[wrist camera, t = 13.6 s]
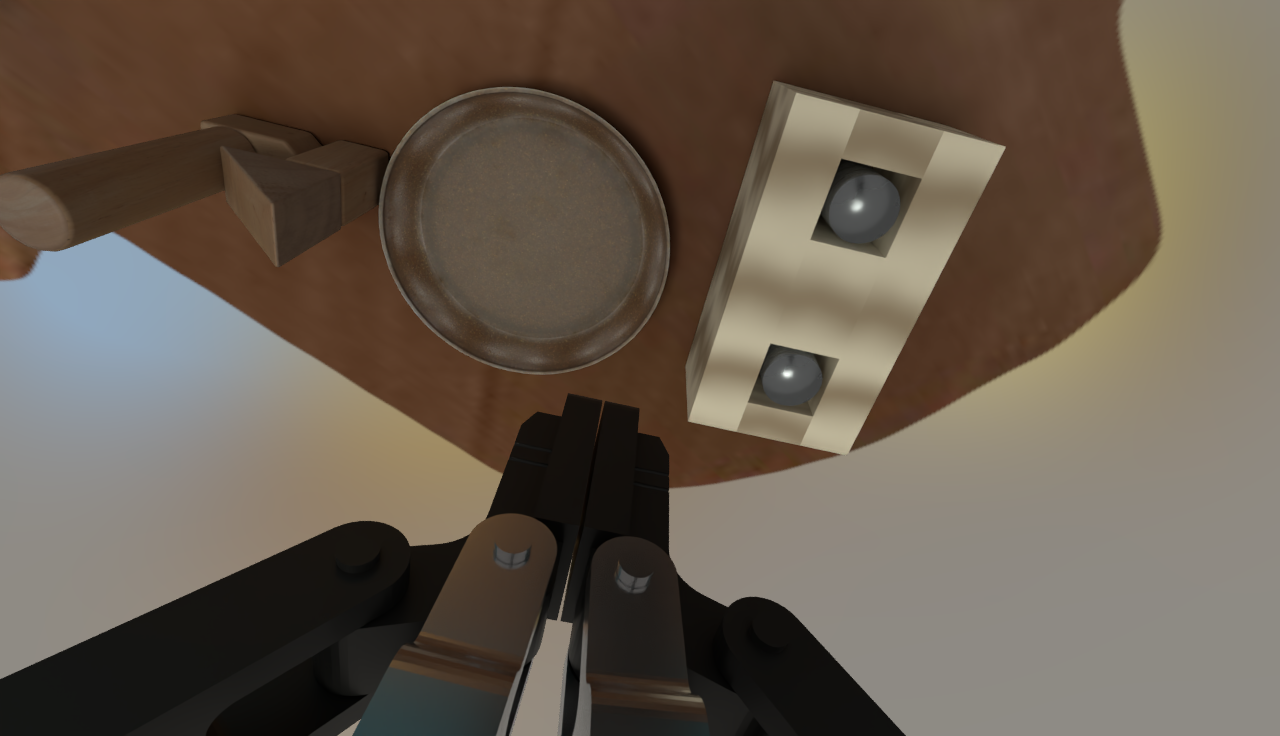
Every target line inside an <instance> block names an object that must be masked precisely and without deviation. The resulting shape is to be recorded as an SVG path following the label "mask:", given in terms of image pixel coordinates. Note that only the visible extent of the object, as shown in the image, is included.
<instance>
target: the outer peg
mask: <svg viewBox="0 0 1280 736" xmlns="http://www.w3.org/2000/svg"><path fill="white" fill-rule="evenodd" d="M759 373H760V377H761V381H762V385H763V389H764V391H765V393H766V395H767V396H768V397H769V398H770V399H771V400H772V401H774V402H775V403H778V404H780V405H785V406H794V405H799V404H802V403H805V402H807V401H809V400H810V399H812V398H813V397H814V396H815V395H816V394H817V392H818V391H819V389H820V387H821V385H822V372H821V370H820V367H819V365H818V363H817V360H816V358H815V356H814V353H811V352H806V351H802V350H797V349H793V348H789V347H784V346H780V345H775V344H771V343H770V346H769V348H768V351H767V353H766V356H765V359H764V361H763V364H762V366H761V369H760V372H759Z"/></svg>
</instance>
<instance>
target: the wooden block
mask: <svg viewBox="0 0 1280 736" xmlns="http://www.w3.org/2000/svg"><path fill="white" fill-rule="evenodd" d="M387 166H388V153H387V152H385V151H384V150H380V149H376V148H372V147H368V146H364V145H360V144H356V143H351V142H347V141H343V140H340V141H336V142H333V143H330V144H327V145H324V146H321V144H320V143H319V142H318V141H317V140H316V138H315V137H314V136H313V135H312V134H311V133H309V132H306V131H302V130H298V129H294V128H290V127H286V126H281V125H277V124H273V123H269V122H265V121H261V120H257V119H253V118H249V117H245V116H241V115H237V114H233V115H228V116H223V117H218V118H214V119H209V120H204V121H202V122H201V130H198V131H193V132H189V133H184V134H180V135H175V136H171V137H166V138H162V139H157V140H153V141H148V142H144V143H139V144H135V145H130V146H126V147H121V148H117V149H112V150H108V151H103V152H99V153H94V154H90V155H85V156H81V157H76V158H72V159H67V160H63V161H58V162H54V163H49V164H45V165H40V166H36V167H31V168H27V169H22V170H18V171H13V172H9V173H5V174H2V175H0V225H1V227H2V228H3V229H4V230H5V231H6V232H7V233H9V234H10V235H11V236H12V237H13V238H14V239H16V240H18V241H19V242H21V243H23V244H24V245H26V246H29V247H31V248H34V249H37V250H43V251H60V250H64V249H67V248H70V247H73V246H75V245H78V244H81V243H84V242H86V241H89V240H91V239H94V238H97V237H100V236H103V235H105V234H108V233H111V232H113V231H116V230H119V229H121V228H124V227H127V226H130V225H132V224H135V223H138V222H140V221H143V220H146V219H148V218H151V217H154V216H157V215H159V214H162V213H165V212H167V211H170V210H173V209H176V208H178V207H181V206H184V205H186V204H189V203H192V202H194V201H197V200H200V199H203V198H205V197H208V196H211V195H213V194H216V193H219V192H221V191H224V190H225V193H226V201H227V203H228V204H229V206H230V207H231V208H232V209H233V211H234V212H235V213H236V215H237V216H238V217H239V219H240V220H241V221H242V223H243V224H244V225H245V227H246V228H247V229H248V231H249V232H250V233H251V234H252V236H253V237H254V238H255V240H256V241H257V242H258V244H259V245H260V246H261V248H262V249H263V250H264V252H265V253H266V254H267V256H268V257H269V258H270V259H271V261H272V262H273V263H274V265H275V266H276V267H280V266H282V265H283V264H285V263H287V262H288V261H290V260H291V259H293V258H295V257H296V256H298V255H300V254H301V253H303V252H304V251H306V250H308V249H309V248H311V247H313V246H314V245H316V244H317V243H319V242H321V241H322V240H324V239H325V238H327V237H329V236H330V235H332V234H334V233H335V232H337V231H338V230H340V228H341V226H344V225H346V224H348V223H349V222H351V221H353V220H354V219H356V218H357V217H359V216H361V215H362V214H364V213H366V212H367V211H369V210H370V209H372V208H374V207H375V206H377V205H379V200H380V193H381V187H382V182H383V178H384V175H385V172H386V169H387Z"/></svg>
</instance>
